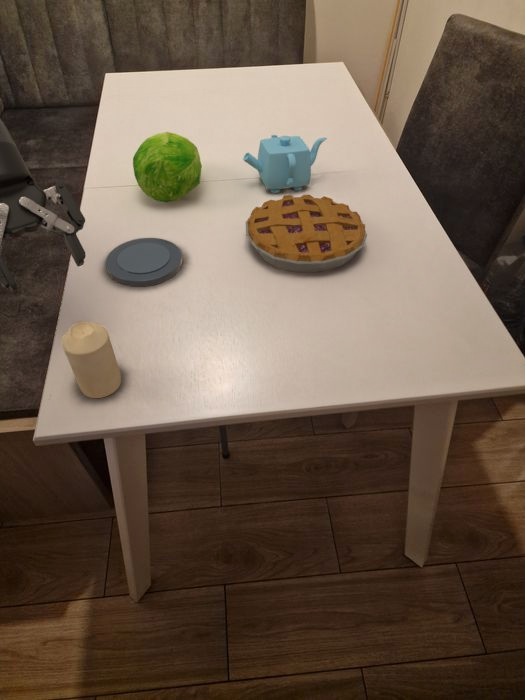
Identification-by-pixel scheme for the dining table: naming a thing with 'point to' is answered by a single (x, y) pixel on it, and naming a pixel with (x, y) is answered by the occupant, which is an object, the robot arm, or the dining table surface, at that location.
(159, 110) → the dining table surface
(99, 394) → the candle
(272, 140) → the teapot
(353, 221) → the pie
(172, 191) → the lettuce
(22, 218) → the robot arm
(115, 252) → the saucer
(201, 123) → the dining table surface
